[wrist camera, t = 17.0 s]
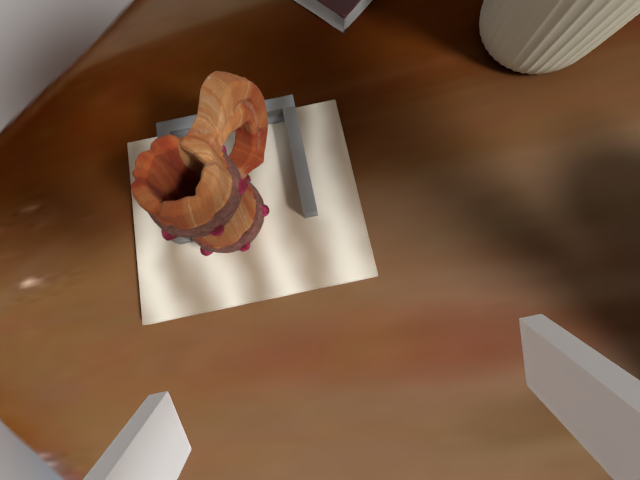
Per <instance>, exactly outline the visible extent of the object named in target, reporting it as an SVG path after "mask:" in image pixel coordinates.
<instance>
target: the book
mask: <svg viewBox="0 0 640 480" xmlns="http://www.w3.org/2000/svg"><path fill="white" fill-rule="evenodd" d="M294 1H296V2H297V3H299V4H300V5H302V6H304V7H305V8H307V9H308V10H310V11H311V12H313V13H314V14H316V15H317V16H319V17H320V18H322V19H323V20H324V21H326V22H327V23H329V24H330V25H331V26H333V27H334V28H335V29H337V30H338V31H339V32H341V33H343V34H344V33H345V32H347V30H346V29H347V28H348V27H349V26H350V25H351V23H352V22H353V21H354V20H355V19H356V18H357V17H358V16H359V15H360V14H361V13H362V11H363V10H364V9H365V8H366V7H367V6H368V5H369V4H370V3H371V1H372V0H294Z"/></svg>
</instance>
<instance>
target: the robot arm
mask: <svg viewBox="0 0 640 480" xmlns="http://www.w3.org/2000/svg"><path fill="white" fill-rule="evenodd" d="M519 321H520V330H521V339H522V348H523V357H524V366H525V375H526V383H527V386H528V387H529V388H530V389H531V390H532V391H533V393H534V394H535V395H536V396H537V397H538V398H539V399H540V400H541V401H542V402H543V403H544V404H545V406H546V407H547V408H548V409H549V410H550V411H551V412H552V413H553V414H554V415H555V416H556V417H557V419H558V420H559V421H560V422H561V423H562V424H563V425H564V426H565V427H566V428H567V429H568V431H569V432H570V433H571V434H572V435H573V436H574V437H575V438H576V439H577V440H578V441H579V442H580V444H581V445H582V446H583V447H584V448H585V449H586V450H587V451H588V452H589V453H590V454H591V456H592V457H593V458H594V459H595V460H596V461H597V462H598V463H599V464H600V465H601V466H602V467H603V469H604V470H605V471H606V472H607V473H608V474H609V475H610V476H611V477H612V478H613V479H614V480H640V380H638V379H637V378H635V377H634V376H632V375H631V374H630V373H628V372H627V371H625V370H624V369H622V368H621V367H619V366H618V365H616V364H615V363H613V362H612V361H610V360H609V359H607V358H606V357H604V356H603V355H602V354H600V353H599V352H597V351H596V350H594V349H593V348H591V347H590V346H588V345H587V344H585V343H584V342H582V341H581V340H579V339H578V338H577V337H575V336H574V335H572V334H571V333H569V332H568V331H566V330H565V329H563V328H562V327H560V326H559V325H557V324H556V323H554V322H553V321H552V320H550V319H549V318H547V317H546V316H544V315H543V314H538V315H533V316H528V317H523V318H519ZM190 451H191V446H190V444H189V442H188V439H187V437H186V434H185V432H184V429H183V427H182V424H181V422H180V420H179V417H178V415H177V412H176V410H175V407H174V405H173V403H172V400H171V398H170V395H169V393H168V391H165V392H161V393H156V394H151V395H149V396H148V397H147V398H146V399H145V401H144V402H143V403H142V405H141V406H140V407H139V408H138V410H137V411H136V412H135V414H134V415H133V416H132V417H131V419H130V420H129V421H128V423H127V424H126V425H125V426H124V428H123V429H122V430H121V432H120V433H119V434H118V435H117V437H116V438H115V439H114V441H113V442H112V443H111V444H110V446H109V447H108V448H107V450H106V451H105V452H104V453H103V455H102V456H101V457H100V459H99V460H98V461H97V462H96V464H95V465H94V466H93V467H92V469H91V470H90V471H89V473H88V474H87V475H86V476H85V478H84V479H83V480H177V479H178V477H179V475H180V472H181V470H182V468H183V466H184V464H185V462H186V460H187V458H188V456H189V454H190Z"/></svg>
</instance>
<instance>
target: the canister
mask: <svg viewBox="0 0 640 480" xmlns="http://www.w3.org/2000/svg"><path fill="white" fill-rule="evenodd" d="M639 13H640V0H484V1H483V4H482V7H481V11H480V19H479V28H480V36H481V40H482V43H483V44H484V46H485V49H486V50H487V51H488V52H489V55H491V56H492V57H493V58H494V60H496V61H498V62H499V63H500V65H503V66H505V67H506V68H509V69H512V70H513V71H517V72H520V73H528V74H543V73H551V72H553V71H558V70H560V69H563V68H564V67H567V66H569V65H571V64H573V63H575V62H576V61H578V60H579V59H580V58H582V57H584V56H585V55H586V54H588V53H589V52H590V51H592V50H593V49H594V48H596V47H597V46H598V45H600V44H601V43H602V42H603V41H605V40H606V39H607V38H609V37H610V36H611V35H612V34H614V33H615V32H616V31H618V30H619V29H620V28H621V27H623V26H624V25H625V24H626V23H628V22H629V21H630V20H632V19H633V18H634V17H635V16H637V15H638V14H639Z"/></svg>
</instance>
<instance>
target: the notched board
mask: <svg viewBox="0 0 640 480" xmlns="http://www.w3.org/2000/svg"><path fill="white" fill-rule="evenodd" d="M264 101H265V105H266V111H267V119H268V132H267V140H266V147H265V152H264V162H263V163H262V164H261V165H260V166H258V167H257V168H255V169H254V170H252V171H251V172H250V173H249V174H248V175H249V176H250V178H251V181H250V182H251V183H252V185H253V186H254V187H255V188H256V189H257V190H258V192H259V194H260V195H261V197H262V199H263V202H264V204H265V205H267V206H268V207H269V211H270V212H269V214H268V215H267V216H265V217H264V222H263V225H262V227H261V230H260V232H259V233H258V235H257V237H256V238H255V239H254V240H253V241H252V242H251V243H250V248H249V250H247V251H245V252H242V251H240V250H238V251H235V252H232V253H216V252H213V253H212V254H211V255H209V256H204V255H202V254H201V252H200V246H199V245H198V244H197V243H196V242H195V241H194V240H193V239H192V238H183V237H177V238H175V239H172V240H169V241H167V240H165V239H164V238H163V237H162V233H161V230H162V229H161V228H160V227H159V226H158V225H157V224H156V223H155V222H154V221H153V220H152V218H151V217H150V215H149V213H148V212H147V211H145V210H144V209H143V208H142V207H140V206H139V204H138V203H137V201H136V200H135V198H134V197H133V194H132V205H133V217H134V229H135V240H136V252H137V264H138V276H139V288H140V300H141V312H142V323H143V325H149V324H154V323H159V322H163V321H168V320H173V319H178V318H182V317H187V316H192V315H197V314H201V313H206V312H211V311H216V310H221V309H225V308H230V307H235V306H240V305H244V304H249V303H254V302H259V301H263V300H268V299H273V298H278V297H282V296H287V295H292V294H297V293H301V292H306V291H311V290H316V289H320V288H325V287H330V286H335V285H339V284H344V283H349V282H354V281H359V280H363V279H368V278H373V277H377V276H378V273H377V269H376V265H375V261H374V256H373V252H372V248H371V244H370V240H369V236H368V232H367V228H366V224H365V220H364V215H363V211H362V207H361V203H360V199H359V195H358V191H357V187H356V183H355V179H354V174H353V170H352V166H351V162H350V158H349V154H348V150H347V146H346V142H345V138H344V134H343V129H342V125H341V121H340V117H339V113H338V109H337V105H336V101H335V100H330V101H326V102H321V103H316V104H311V105H307V106H302V107H297V108H295V103H294V98H293V94H292V95H288V96H283V97H278V98H273V99H268V100H264ZM195 118H196V115H192V116H187V117H182V118H178V119H173V120H168V121H163V122H158V123H156V128H157V137H153V138H149V139H144V140H139V141H134V142H130V143H127V146H128V157H129V169H130V181H131V184H132V183H133V182H134V181H135V178H134V176H133V175H132V172H133V170H134V169H135V161H136V159H137V157H138V155H139V154H140V153H142V152H144V151H147V150H150V146H151V143H152V142H153V141H154V140H155V139H157V138H160V137H163V136H166V135H176V136H177V137H178V138H182V137H184V136H185V135H187V134H188V132H189V130H190V128H191V126H192V124H193V123H194V120H195ZM234 143H235V130H234V131H233V132H231V134H230V135H229V136H228V138H227V140H226V142H225V143H224V146H225V147H226V151H227V155H228V156H229V155H230V153H231V152H232V149H233V145H234ZM131 193H132V190H131Z"/></svg>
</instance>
